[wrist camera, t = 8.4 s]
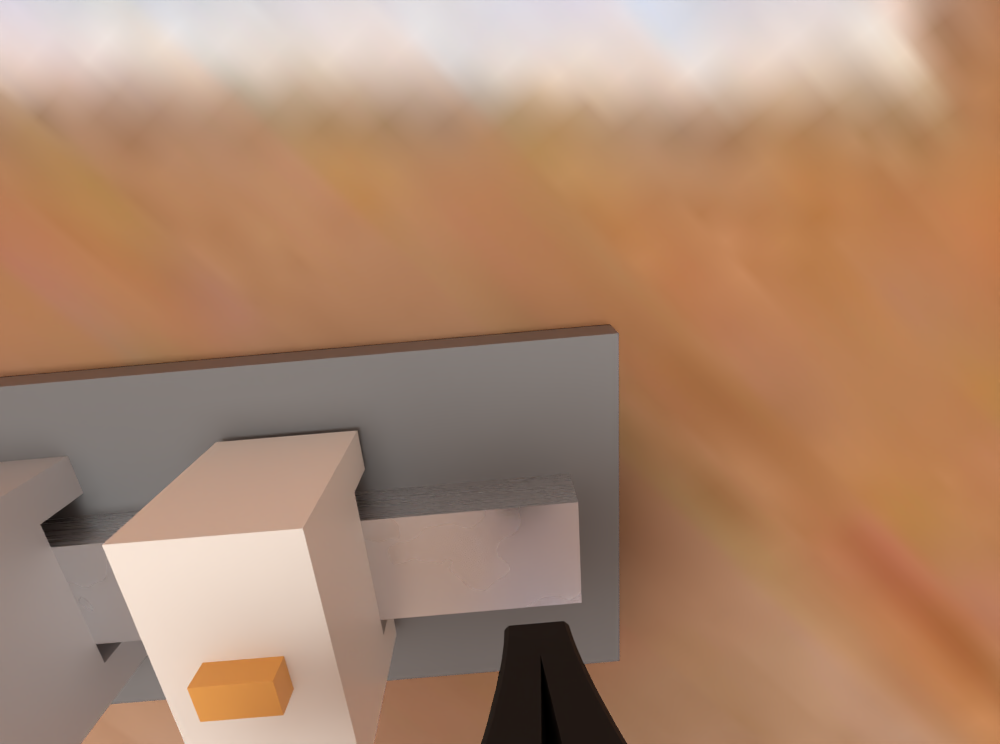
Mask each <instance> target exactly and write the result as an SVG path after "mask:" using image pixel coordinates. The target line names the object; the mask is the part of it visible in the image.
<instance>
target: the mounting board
mask: <svg viewBox="0 0 1000 744" xmlns="http://www.w3.org/2000/svg"><path fill="white" fill-rule="evenodd" d="M345 431H358V436H359V441H360V447H361V452H362V457H363V462H364V467H365V470H364V472H363V474H362V477H361V479H360V481H359V483H358V486H357V488H356V490H355V492H360V491H372V490H383V489H395V488H407V487H418V486H430V485H441V484H453V483H465V482H476V481H488V480H500V479H511V478H523V477H534V476H546V475H558V474H570V477H571V480H572V483H573V487H574V490H575V493H576V497H577V500H578V511H579V540H580V569H581V597H582V603H573V604H561V605H550V606H538V607H526V608H515V609H503V610H491V611H479V612H468V613H456V614H444V615H433V616H421V617H409V618H397V619H394V623H395V629H396V639H395V644H394V648H393V653H392V658H391V663H390V668H389V673H388V678H387V681H389V680H400V679H412V678H424V677H436V676H447V675H459V674H471V673H483V672H494V671H500V666H501V660H502V654H503V645H504V630H505V629H506V628H507V627H508V626H510V625H522V624H533V623H545V622H557V621H565V622H566V623H567V624H569V627H570V630H571V633H572V636H573V639H574V641H575V644H576V646H577V649H578V651H579V654H580V656H581V658H582V660H583V663H584V664H589V663H600V662H612V661H620V659H619V333H618V332H617V331H616V330H615V329H614V328H613V327H612V326H611V325H599V326H587V327H576V328H564V329H553V330H541V331H530V332H518V333H507V334H495V335H483V336H472V337H460V338H449V339H437V340H426V341H414V342H403V343H391V344H380V345H368V346H357V347H345V348H333V349H322V350H310V351H299V352H287V353H276V354H264V355H253V356H241V357H230V358H218V359H206V360H195V361H183V362H172V363H160V364H149V365H137V366H126V367H114V368H103V369H91V370H80V371H68V372H56V373H45V374H33V375H22V376H10V377H0V462H6V461H17V460H29V459H40V458H52V457H63V456H68V458H69V461H70V463H71V465H72V468H73V470H74V473H75V475H76V477H77V480H78V482H79V485H80V487H81V489H82V492H83V494H81V495H80V496H79V497H77V498H76V499H75V500H73V501H72V502H71V503H69V504H68V505H66V506H65V507H64V508H62V509H61V510H60V511H58V512H57V513H55V514H54V515H53V516H51V517H50V518H58V517H69V516H81V515H92V514H104V513H116V512H127V511H139V510H141V509H142V508H144V507H145V506H146V505H147V504H148V503H149V502H150V501H151V500H152V499H154V498H155V497H156V496H157V495H158V494H159V493H160V492H161V491H162V490H164V489H165V488H166V487H167V486H168V485H169V484H170V483H171V482H172V481H174V480H175V479H176V478H177V477H178V476H179V475H180V474H181V473H182V472H184V471H185V470H186V469H187V468H188V467H189V466H190V465H191V464H192V463H194V462H195V461H196V460H197V459H198V458H199V457H200V456H201V455H202V454H204V453H205V452H206V451H207V450H208V449H209V448H210V447H211V446H212V445H214V444H215V443H216V442H223V441H236V440H248V439H260V438H272V437H284V436H296V435H308V434H320V433H333V432H345ZM165 699H166V697H165V695H164V693H163V690H162V688H161V685H160V683H159V681H158V678H157V676H156V673H155V671H154V669H153V666H152V664H151V661H150V659H149V657H148V654H147V656H146V657H145V658H144V660H143V661H142V662H141V664H140V665H139V666H138V668H137V669H136V670H135V672H134V673H133V674H132V676H131V677H130V678H129V680H128V681H127V682H126V684H125V685H124V686H123V688H122V689H121V691H120V692H119V693H118V695H117V696H116V697H115V699H114V700H113V701H112V703H111V704H118V703H130V702H142V701H154V700H165Z"/></svg>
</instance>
